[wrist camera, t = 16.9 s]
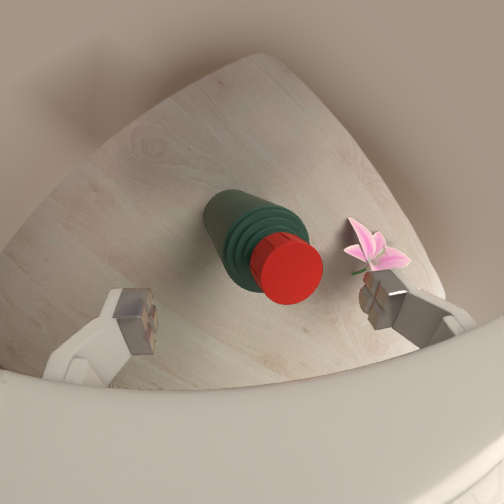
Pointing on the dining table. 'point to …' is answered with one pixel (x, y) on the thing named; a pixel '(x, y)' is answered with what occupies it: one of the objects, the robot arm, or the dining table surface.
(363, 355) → the dining table surface
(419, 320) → the robot arm
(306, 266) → the cap
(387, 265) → the lily
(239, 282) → the bottle
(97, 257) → the dining table surface
